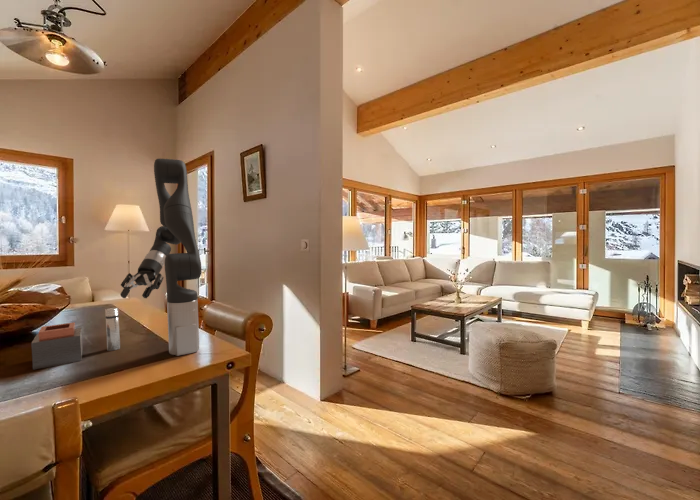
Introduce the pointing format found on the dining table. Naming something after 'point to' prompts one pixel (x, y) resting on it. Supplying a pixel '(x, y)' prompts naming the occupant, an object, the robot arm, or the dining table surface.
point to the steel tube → (112, 329)
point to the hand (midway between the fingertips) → (133, 297)
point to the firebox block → (57, 345)
